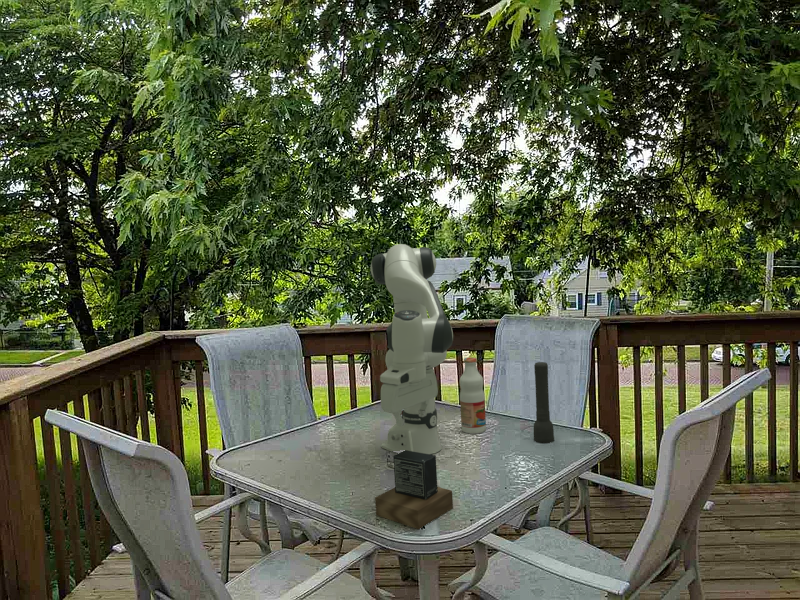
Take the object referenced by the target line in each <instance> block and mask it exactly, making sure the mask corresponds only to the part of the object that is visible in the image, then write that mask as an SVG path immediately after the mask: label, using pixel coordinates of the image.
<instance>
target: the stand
mask: <svg viewBox="0 0 800 600" xmlns="http://www.w3.org/2000/svg"><path fill="white" fill-rule="evenodd" d="M437 488H438V492H437V493H435V494H434V495H432V496H430V497H429V498H427V499H426V500H425V499H421V498H417V497H412V496H408V495H404V494H399V493H395V486H394V487H392V488H391V489H389V490H387V491H385V492H383V493H381V494H379V495H377V496H375V497H374V503H375V516H377V517H380V518H383V519H387V520H390V521H392V522H395V523H398V524H401V525H405V526H408V527H410V528H413V529H417V530H420V528H421V529H422V528H424V527H425V526H427V525H428V523H429V524H430V523H432V522H433V521H435V520H436V519H438V518H439V517H441V516H443V515H444V514H446V513H448V512H449V511H451V510H453V509H454V502H453V490H451V489H448V488H444V487H440V486H437ZM431 521H432V522H431ZM426 524H427V525H426ZM423 526H424V527H423Z"/></svg>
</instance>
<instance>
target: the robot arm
mask: <svg viewBox="0 0 800 600" xmlns="http://www.w3.org/2000/svg"><path fill="white" fill-rule="evenodd" d="M436 267H437V259H436V256H435V253H434V252H433V251H432V249H431V248H429V247H424V246H422V247H415V248H414V247H411V246H410V245H408V244H404V243H399V244H394V245H392V246H391V247H390V248H389V249H388V250H387V252H385V253H383V252H382V253H379V254H376V255H374V256H373V257H372V259H371V264H370V273H371V276H372V278H373V279H374V282H375V283H377V284H379V285H385V286H386V289H387V291H388V292H389V293H390V294H391V295H392V300H393V307H394V314H393V316H392V322H391V323H390V324H389V325H388V326H387V327H386V334H387V346H386V347H387V348H388V350H387V352H386V354H385V359H384V360H385V361H384V362H385V365H386V368H387V369H386V370H385V371H384V372H382V373H381V374H380V375H379V377H380V378H379V381H380V382H381V383H382V385H381V388H380V406H381V410H382V411H383V412H385V413H388V414H392V415H393V417H394V419H395V424H394V425H393V426H392V427H390V428H389V430H388V433H387V438H386V439H387V440H385V441H384V442H382V443H381V446H380V447H382V449H384V450H387V451H389V452H392V451H400V450H408V451H413V452H419V453H424V454H430V455H434V454H436V453H439V452H440V451H442V450H443V446H442V442H441V439H440V434H439V430H438V412H437V411H438V410H437V408H436V398H437V396H438V394H439V393H438V392H439V391H438V390H439V389H438V381H437V380H438V379H437V376H436V373H435V369H434V368H436V367H437V366H439V365H440V364H442V363H444V361H445V360H446V358H447V356H448V355H447V350H449V349H450V348H451V347H452V346H453V341H454V332H453V328H452V325H451V324H450V321H449V319H448V318H447V316H446V313H445V311H444V308H443V306H442V303H441V300H440V298H439V295H438V294H437V290H436V288H435V286H434V285H433V282H432V281H430V280H429V279H430V278H431V277H432V276H434V274H435V272H436ZM428 316H429V317H428Z"/></svg>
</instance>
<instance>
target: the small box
mask: <svg viewBox="0 0 800 600" xmlns="http://www.w3.org/2000/svg"><path fill="white" fill-rule="evenodd" d="M392 459H393V473H394V487H395V493H399V494H404V495H408V496H412V497H417V498H421V499H425V500H426V499H427V498H429V497H430V496H432V495H434V494H435V493H437V492H438V488H437V487H438V474H437V473H438V472H437V455H435V454H424V453H419V452H413V451H408V450H405V451H403V452H401V453H399V454H397V453H396V454H394V455H393V456H392Z"/></svg>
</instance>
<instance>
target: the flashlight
mask: <svg viewBox="0 0 800 600" xmlns="http://www.w3.org/2000/svg"><path fill="white" fill-rule="evenodd" d="M533 365H534V367H533V368H534V382H535V407H536V408H535V415H536V420H535V421H534V422H533V423H534V424H533V442H535V441H536V442H535V443H538V444H551V443H553V442H554V441H555V437H554V436H555V434H554V433H555V432H554V430H555V429H554V425H553V422H552V421H551V417H550V398H549V396H550V395H549V365H548V363H547V362H543V361H539V362H535V363H534V364H533ZM550 442H551V443H550Z"/></svg>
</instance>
